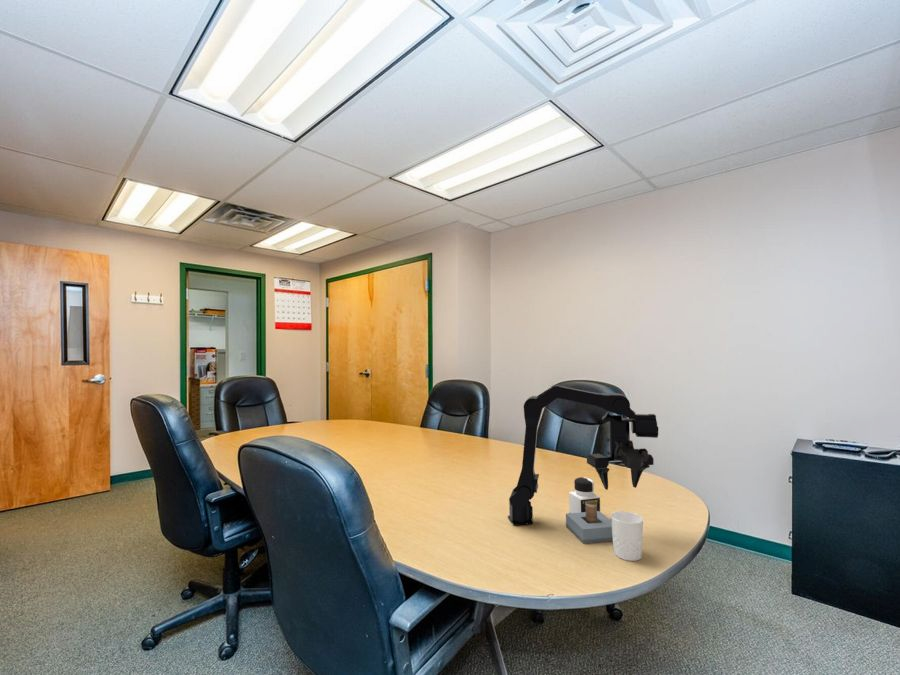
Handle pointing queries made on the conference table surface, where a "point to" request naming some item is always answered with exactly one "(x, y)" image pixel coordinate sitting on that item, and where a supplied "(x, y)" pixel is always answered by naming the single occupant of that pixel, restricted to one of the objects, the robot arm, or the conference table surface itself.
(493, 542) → the conference table surface
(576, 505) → the medicine bottle
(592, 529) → the socket block
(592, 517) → the pin
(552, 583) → the conference table surface
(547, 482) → the conference table surface
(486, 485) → the conference table surface
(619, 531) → the white cup
